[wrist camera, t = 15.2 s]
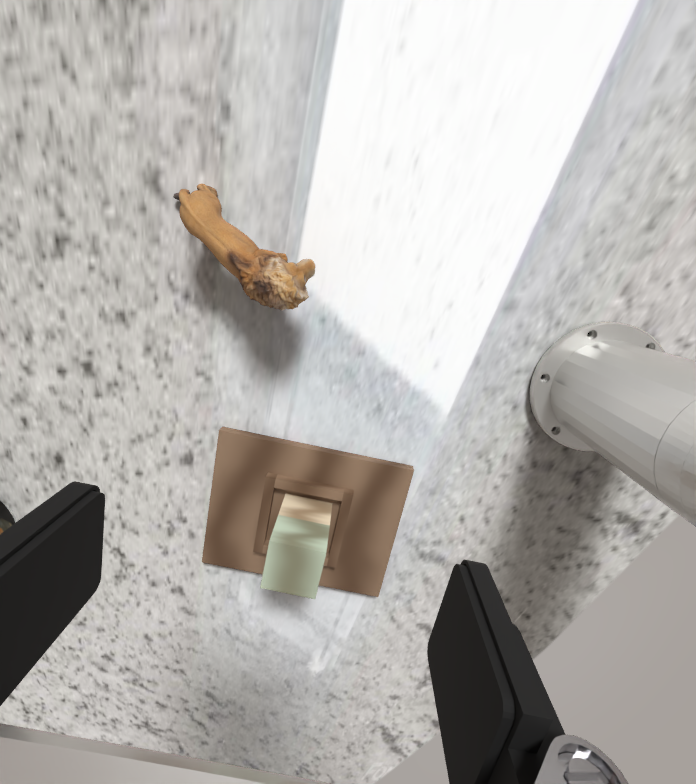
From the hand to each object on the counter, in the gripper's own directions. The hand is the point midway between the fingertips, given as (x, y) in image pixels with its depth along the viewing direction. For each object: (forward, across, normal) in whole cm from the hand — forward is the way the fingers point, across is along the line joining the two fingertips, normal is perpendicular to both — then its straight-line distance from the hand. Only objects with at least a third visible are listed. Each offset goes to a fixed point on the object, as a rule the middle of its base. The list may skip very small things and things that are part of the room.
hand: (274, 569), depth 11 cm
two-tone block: (+29, 0, +18) cm, 34 cm away
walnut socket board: (+30, 0, +18) cm, 35 cm away
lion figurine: (+31, +9, -8) cm, 33 cm away
